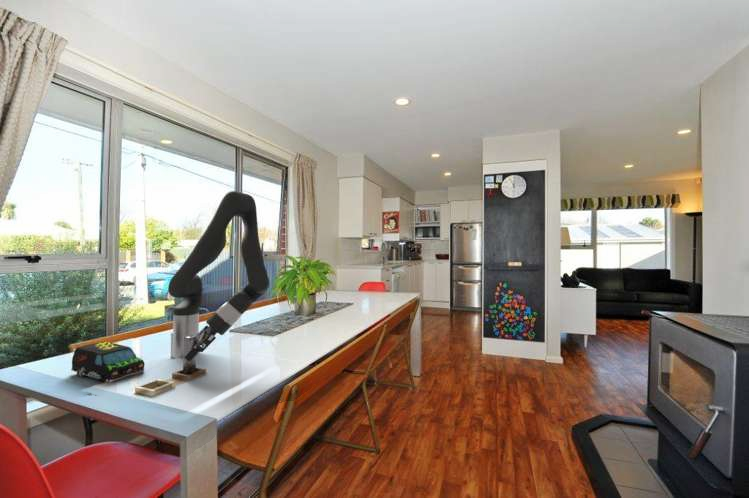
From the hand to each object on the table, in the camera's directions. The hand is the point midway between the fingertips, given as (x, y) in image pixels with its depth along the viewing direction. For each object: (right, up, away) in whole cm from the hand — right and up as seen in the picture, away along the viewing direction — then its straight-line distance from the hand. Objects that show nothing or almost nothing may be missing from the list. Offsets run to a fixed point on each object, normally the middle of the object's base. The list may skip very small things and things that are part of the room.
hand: (186, 355), depth 110 cm
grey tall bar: (+1, -7, +1) cm, 7 cm away
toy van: (-29, -8, +3) cm, 30 cm away
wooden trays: (-1, -8, -5) cm, 10 cm away
